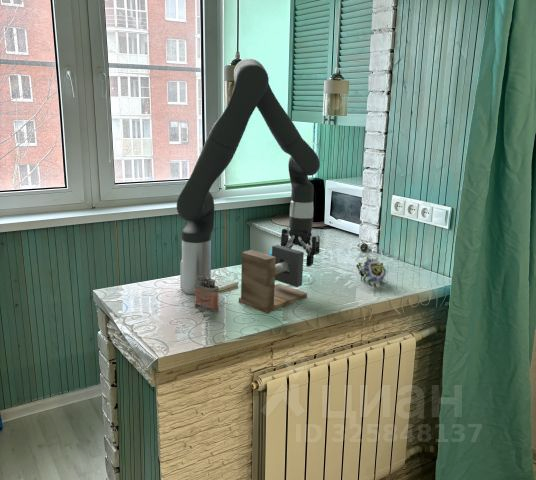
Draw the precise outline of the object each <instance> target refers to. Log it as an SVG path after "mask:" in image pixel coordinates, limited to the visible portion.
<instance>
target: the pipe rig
mask: <svg viewBox="0 0 536 480" xmlns="http://www.w3.org/2000/svg"><path fill="white" fill-rule="evenodd" d="M275 263H276V257H274V256H271V255H270V254H267V253H264V252H260V251H256V250H254V249H248V250H246V251H242V252H241V273H240V274H241V279H240V281H241V282H240V283H241V285H240V297H238V303H239V304H241V305H244V306H246V307H249V308H252V309H254V310H257V311H259V312H261V313H262V312H263V313H264V314H267V315H268V314H271V313H272V312H275V311H277V310H280V309H282V308H285V307H286V306H290V305H292V304H295V303H297V302H299V301H302V300H304V299H306V298H307V297H308V292H305V291H303V290H299V289H297V288H293V287H292V286H288V285H284V284H282V283H277V284H275V283H276V282H275V281H276V280H275V275H276V274H279V273H282V272H285V271H288V270H290V262H289V261H285V262H282V263H279V264H275Z"/></svg>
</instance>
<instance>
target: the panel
mask: <svg viewBox="0 0 536 480" xmlns="http://www.w3.org/2000/svg"><path fill="white" fill-rule="evenodd" d="M271 251H272V256H274V257H276V263H275V264H279V263H282V262H284V261H285V260H286V261H289V262H290V271H285V272H282V273H279V274H276V275H275V281H278V282H280V283H283V284H286V285H289V286H291V287H295V288H299V287H301V286H303V273H304V272H303V271H304V255H305V253H304V251H302V250H301V251H300V250H296V249H293V248H291V249H290V248H286V247H283V246H281V245H279V244H275V245H272V246H271Z"/></svg>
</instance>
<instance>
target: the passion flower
mask: <svg viewBox="0 0 536 480" xmlns="http://www.w3.org/2000/svg"><path fill="white" fill-rule="evenodd" d="M356 268H357V270H358V271H359V272H358V275H360V281H363V282H368V285H369V287H372V286H374V287H375V288H376V289H378V288H379V287H380V284H381V283H384V284H386V279H385V278H386V276H387V274H388V273H389V270H386V267H385V265H384V263H383V262H380V261H379V259H378V258H375V259H374V258H370V256H369V255H366V259H365V262H361V261H359V262H358V264H357V265H356Z"/></svg>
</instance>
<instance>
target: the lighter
mask: <svg viewBox="0 0 536 480" xmlns="http://www.w3.org/2000/svg"><path fill="white" fill-rule="evenodd" d="M197 280H198V281H201V282H197V283H195V295H194V296H195V299H194V300H195V301H194V303H195V304H194V308H195V309H197V310H200V311H202V312H206V313H211V314H215V313H216V314H217V313H218V312H219V310H220V309H219V289H220V287H219V286H217V285H216V279H212V278H210V277H207V278H205V277H203V276H198V277H197Z"/></svg>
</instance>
